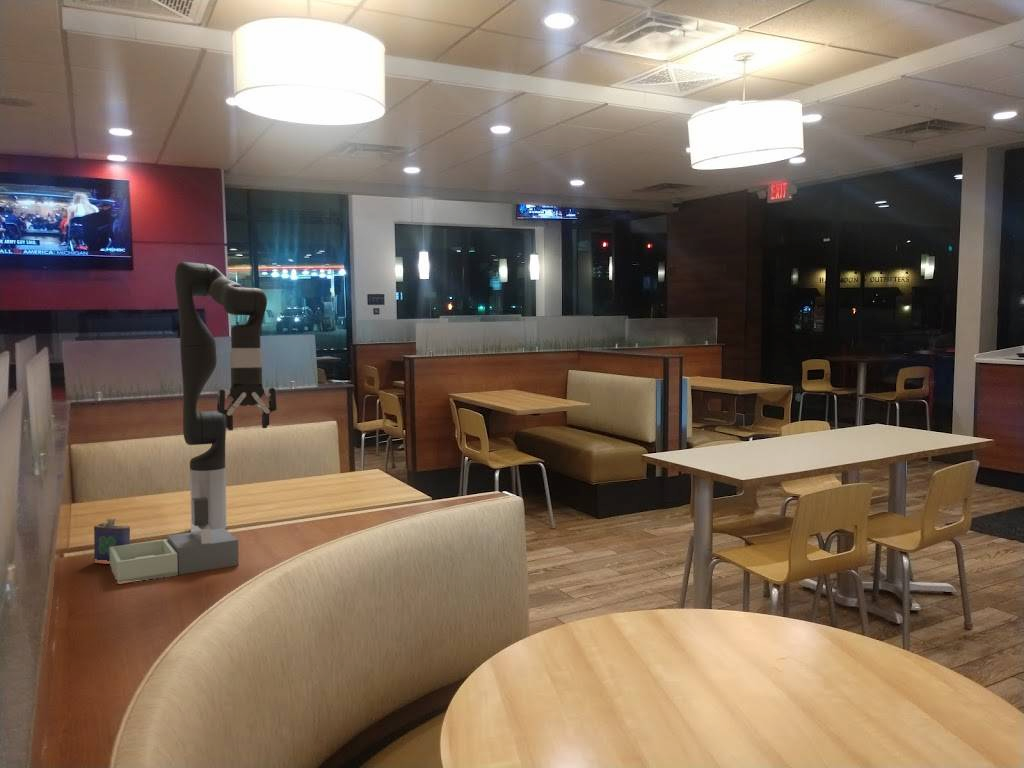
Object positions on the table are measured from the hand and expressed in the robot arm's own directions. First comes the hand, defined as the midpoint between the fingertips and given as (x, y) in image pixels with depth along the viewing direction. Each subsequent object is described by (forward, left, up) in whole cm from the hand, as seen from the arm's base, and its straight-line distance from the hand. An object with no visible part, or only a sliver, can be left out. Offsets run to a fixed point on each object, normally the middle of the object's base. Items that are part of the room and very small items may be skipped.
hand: (247, 429), depth 192 cm
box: (+10, -26, -30) cm, 41 cm away
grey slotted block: (+10, -14, -30) cm, 34 cm away
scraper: (+11, -14, -24) cm, 30 cm away
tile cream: (+7, -25, -28) cm, 38 cm away
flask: (-2, -32, -30) cm, 44 cm away
